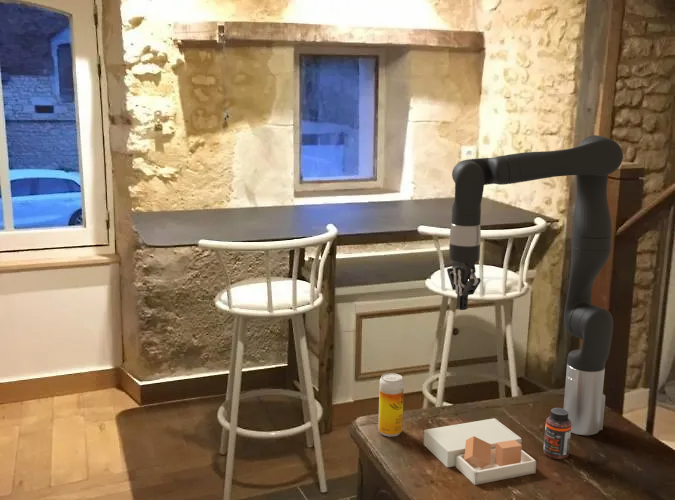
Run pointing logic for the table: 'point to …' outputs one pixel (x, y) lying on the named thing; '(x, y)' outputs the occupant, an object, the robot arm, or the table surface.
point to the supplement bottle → (557, 434)
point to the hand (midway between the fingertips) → (461, 309)
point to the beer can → (391, 404)
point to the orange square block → (477, 452)
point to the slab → (465, 438)
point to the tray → (495, 469)
